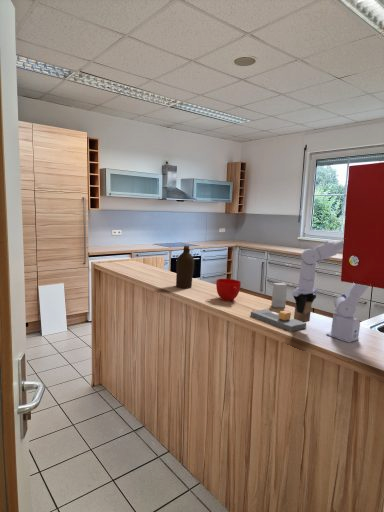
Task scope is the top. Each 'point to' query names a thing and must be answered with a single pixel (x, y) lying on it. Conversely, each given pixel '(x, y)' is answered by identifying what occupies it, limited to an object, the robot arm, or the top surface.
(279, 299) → the skincare box
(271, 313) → the switch board
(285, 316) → the switch tab
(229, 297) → the ceramic cup
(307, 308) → the walnut pusher
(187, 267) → the olive oil
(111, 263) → the top surface
